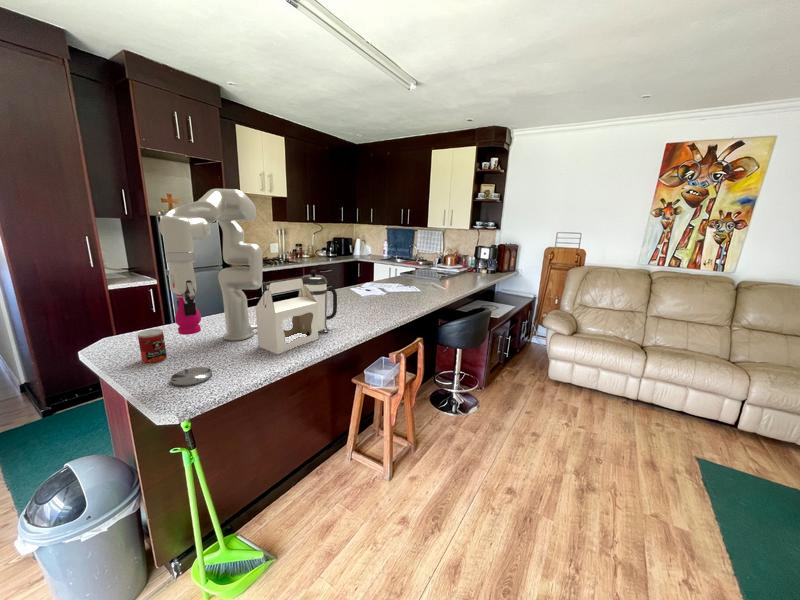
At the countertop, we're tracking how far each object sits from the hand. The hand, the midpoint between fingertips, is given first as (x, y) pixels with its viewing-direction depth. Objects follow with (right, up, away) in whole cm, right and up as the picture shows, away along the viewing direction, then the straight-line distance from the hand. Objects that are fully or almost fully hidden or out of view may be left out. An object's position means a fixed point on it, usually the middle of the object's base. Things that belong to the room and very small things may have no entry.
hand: (187, 312), depth 109 cm
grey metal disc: (-1, -22, +5) cm, 23 cm away
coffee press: (+28, -11, +54) cm, 62 cm away
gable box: (+21, -15, +38) cm, 46 cm away
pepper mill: (0, -7, +2) cm, 7 cm away
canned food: (-24, -19, +18) cm, 35 cm away
